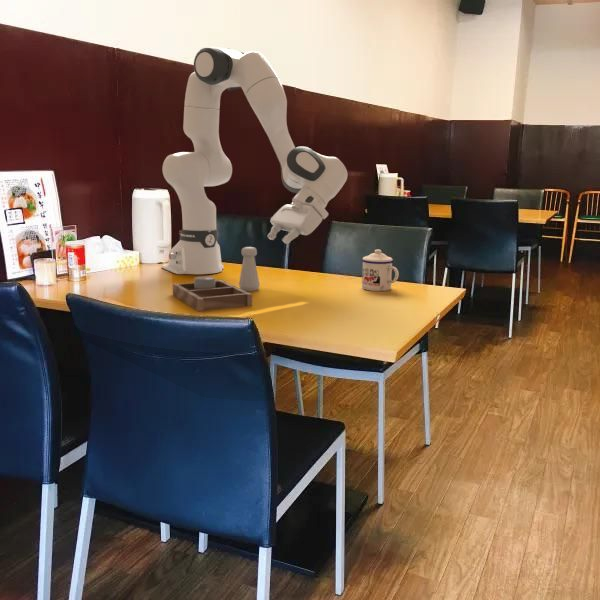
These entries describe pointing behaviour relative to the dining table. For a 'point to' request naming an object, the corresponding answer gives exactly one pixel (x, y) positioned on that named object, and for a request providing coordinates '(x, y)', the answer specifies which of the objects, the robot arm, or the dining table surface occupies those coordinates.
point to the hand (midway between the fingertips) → (277, 240)
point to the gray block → (204, 282)
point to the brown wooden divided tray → (213, 296)
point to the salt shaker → (249, 270)
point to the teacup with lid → (378, 272)
